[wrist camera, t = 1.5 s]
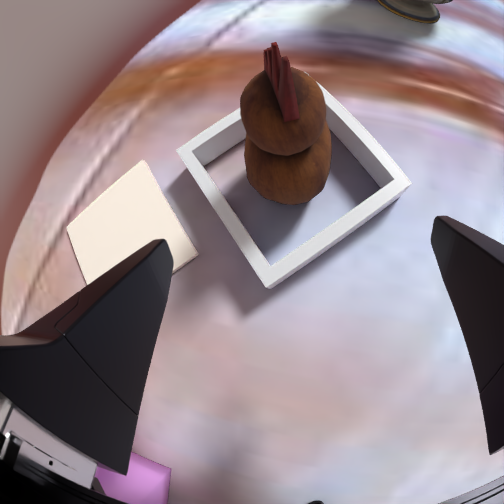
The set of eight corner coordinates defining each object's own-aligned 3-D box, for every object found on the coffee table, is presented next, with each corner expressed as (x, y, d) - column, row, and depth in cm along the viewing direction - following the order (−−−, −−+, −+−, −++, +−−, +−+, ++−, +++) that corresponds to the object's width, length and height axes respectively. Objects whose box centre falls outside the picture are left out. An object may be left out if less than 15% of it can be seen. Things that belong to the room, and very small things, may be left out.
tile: (107, 321, 24) (103, 321, 24) (69, 228, 27) (66, 227, 26) (199, 254, 24) (196, 253, 23) (145, 161, 26) (143, 159, 26)
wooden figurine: (324, 220, 23) (351, 96, 8) (251, 212, 24) (179, 94, 9) (328, 144, 23) (341, -4, 9) (262, 139, 25) (218, -3, 10)
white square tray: (270, 289, 22) (265, 287, 19) (188, 165, 25) (176, 150, 22) (400, 196, 22) (411, 183, 19) (305, 92, 25) (305, 71, 22)
